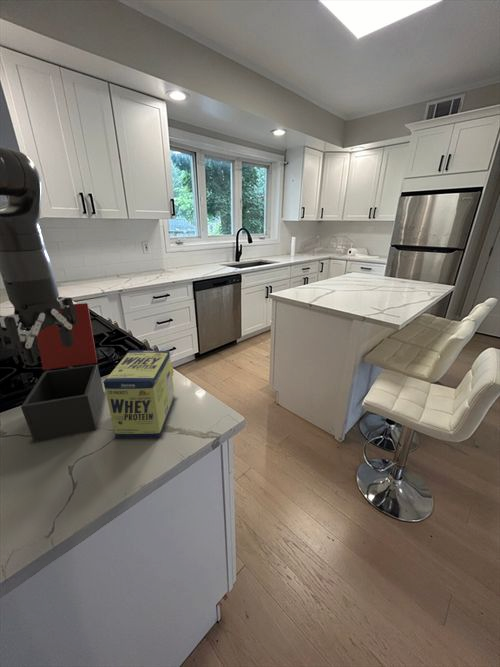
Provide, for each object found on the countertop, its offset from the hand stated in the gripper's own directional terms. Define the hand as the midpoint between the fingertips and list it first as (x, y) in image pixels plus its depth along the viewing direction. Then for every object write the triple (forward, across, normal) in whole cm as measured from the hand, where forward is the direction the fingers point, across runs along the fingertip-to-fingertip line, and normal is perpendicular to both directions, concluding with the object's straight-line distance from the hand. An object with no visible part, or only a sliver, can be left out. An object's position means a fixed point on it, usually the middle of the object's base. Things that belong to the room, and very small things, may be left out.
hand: (51, 354), depth 56 cm
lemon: (+21, -26, +10) cm, 35 cm away
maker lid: (+3, -14, -11) cm, 18 cm away
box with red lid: (+21, -6, -6) cm, 23 cm away
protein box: (+21, -10, +13) cm, 27 cm away
